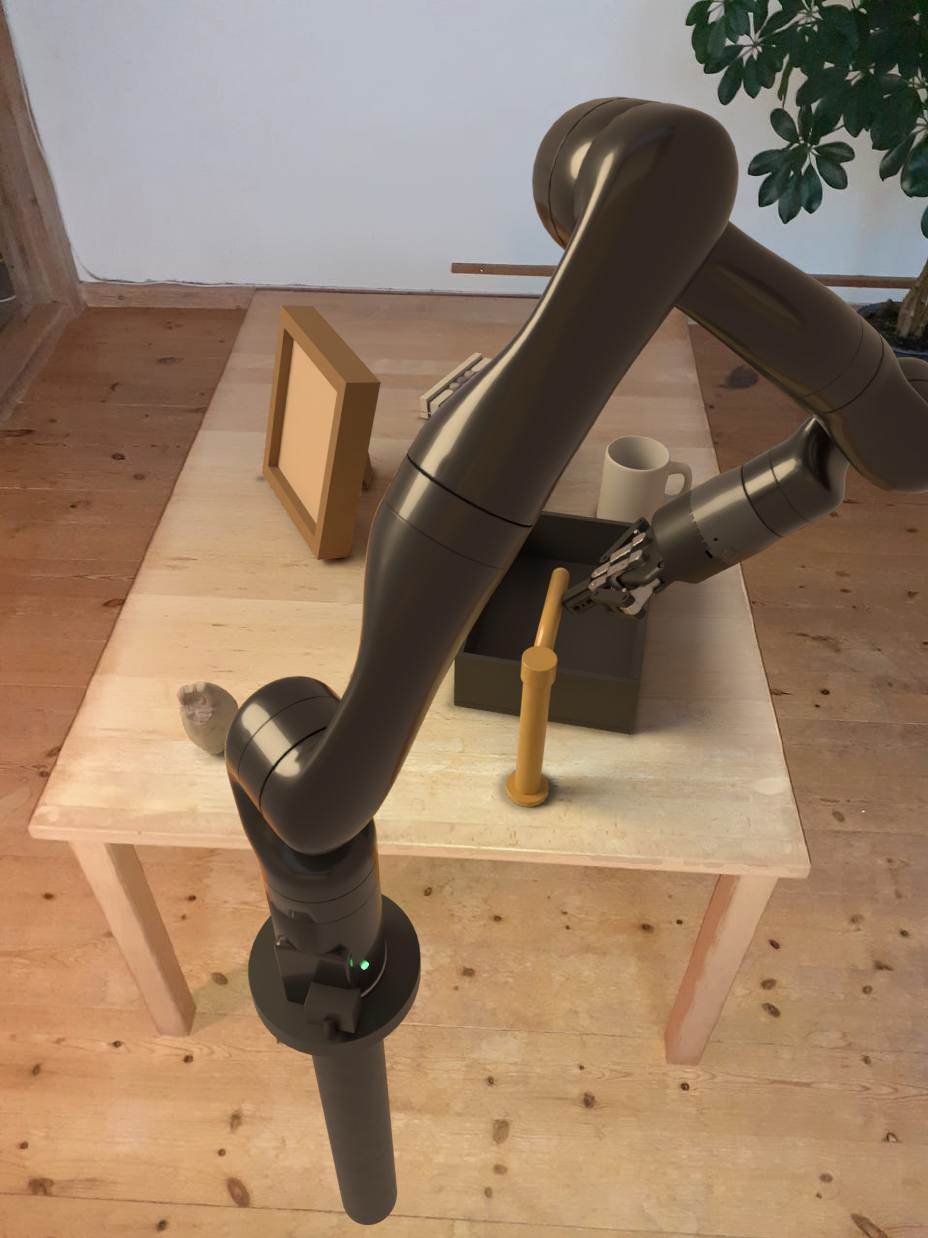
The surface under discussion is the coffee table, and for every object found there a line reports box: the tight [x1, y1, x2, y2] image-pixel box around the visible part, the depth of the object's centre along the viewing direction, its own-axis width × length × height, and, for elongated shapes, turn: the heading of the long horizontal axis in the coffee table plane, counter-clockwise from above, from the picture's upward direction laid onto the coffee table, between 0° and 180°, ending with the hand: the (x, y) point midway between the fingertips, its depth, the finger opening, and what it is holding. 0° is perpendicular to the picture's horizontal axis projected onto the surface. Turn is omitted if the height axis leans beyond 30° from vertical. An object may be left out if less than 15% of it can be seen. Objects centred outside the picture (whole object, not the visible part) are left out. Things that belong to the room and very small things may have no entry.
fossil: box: [176, 681, 240, 755], centre depth 101 cm, size 6×4×10 cm, turn 111°
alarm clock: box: [419, 352, 493, 420], centre depth 155 cm, size 17×5×16 cm
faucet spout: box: [521, 568, 570, 689], centre depth 94 cm, size 16×3×5 cm, turn 167°
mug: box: [596, 435, 693, 524], centre depth 131 cm, size 12×8×11 cm
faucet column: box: [505, 683, 551, 808], centre depth 95 cm, size 4×4×17 cm
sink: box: [453, 510, 650, 735], centre depth 115 cm, size 28×20×8 cm
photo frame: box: [261, 304, 382, 561], centre depth 127 cm, size 15×22×25 cm
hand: (568, 605), depth 95 cm, fingers closed
